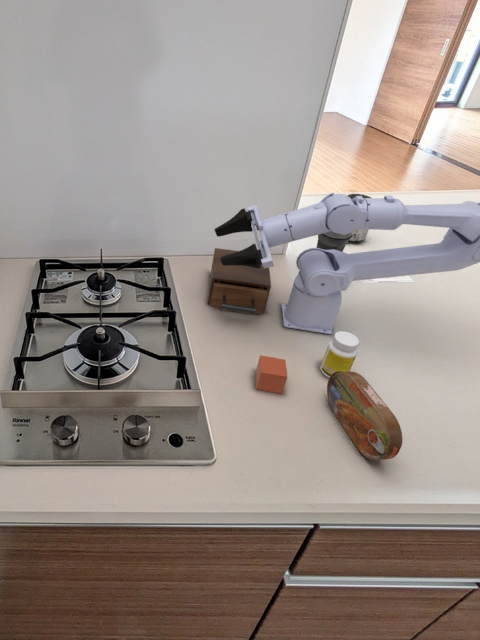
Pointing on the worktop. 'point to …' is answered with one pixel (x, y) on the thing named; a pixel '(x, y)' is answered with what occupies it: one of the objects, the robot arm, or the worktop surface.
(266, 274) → the cabinet
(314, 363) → the worktop surface
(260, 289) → the drawer
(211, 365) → the worktop surface
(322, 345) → the worktop surface
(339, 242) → the beverage cup
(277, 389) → the block
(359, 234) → the ink bottle
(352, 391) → the tin
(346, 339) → the supplement bottle
